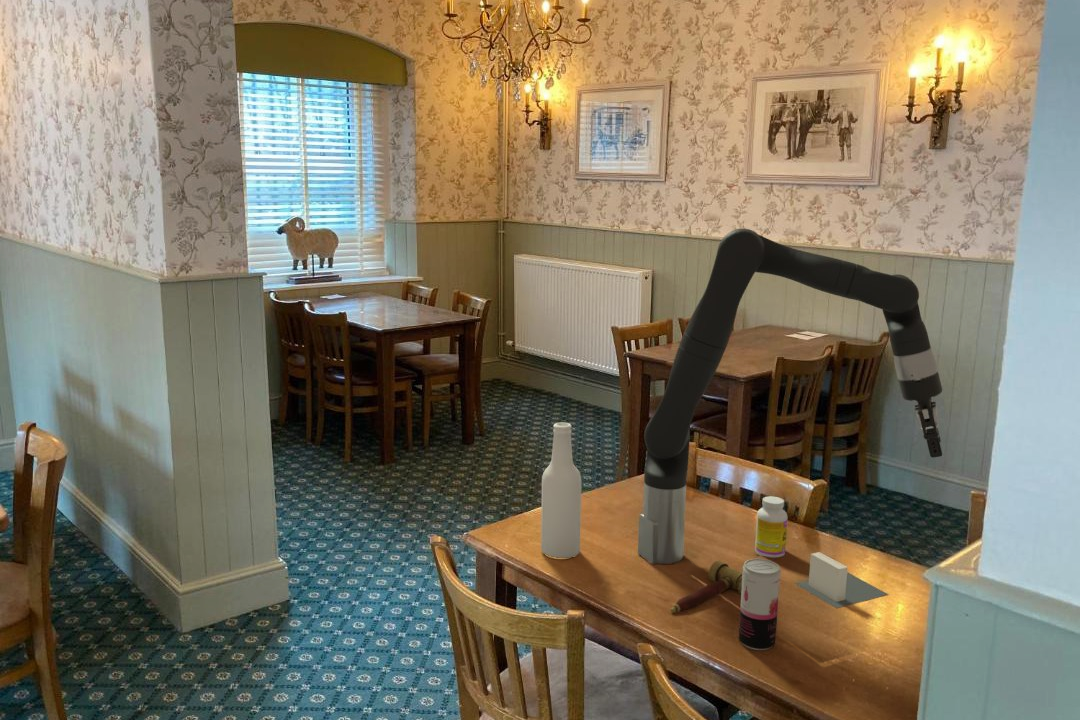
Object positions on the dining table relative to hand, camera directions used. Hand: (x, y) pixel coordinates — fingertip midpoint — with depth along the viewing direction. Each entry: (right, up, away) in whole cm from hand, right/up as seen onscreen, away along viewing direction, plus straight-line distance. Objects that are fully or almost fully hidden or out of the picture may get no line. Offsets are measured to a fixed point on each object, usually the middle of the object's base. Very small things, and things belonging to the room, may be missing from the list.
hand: (936, 449), depth 178 cm
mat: (-18, -30, +4) cm, 35 cm away
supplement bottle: (-28, -26, +22) cm, 44 cm away
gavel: (-46, -31, +1) cm, 55 cm away
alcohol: (-75, -26, +22) cm, 82 cm away
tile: (-21, -29, +3) cm, 36 cm away
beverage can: (-40, -34, -16) cm, 55 cm away
